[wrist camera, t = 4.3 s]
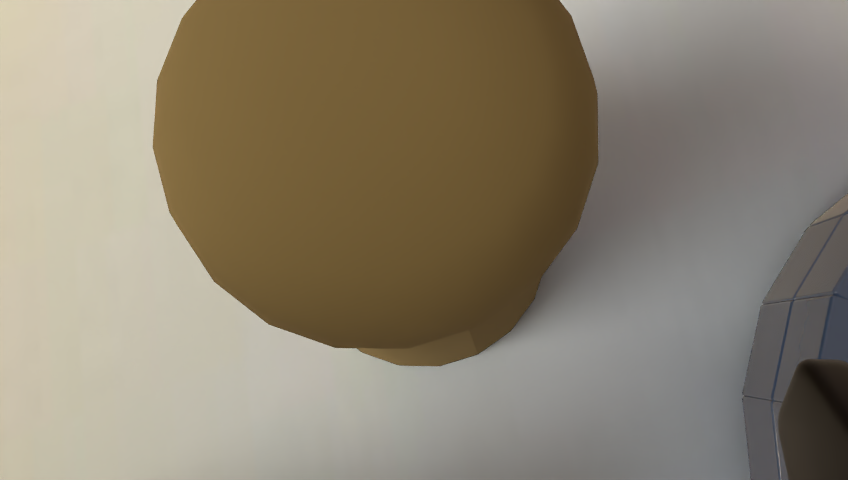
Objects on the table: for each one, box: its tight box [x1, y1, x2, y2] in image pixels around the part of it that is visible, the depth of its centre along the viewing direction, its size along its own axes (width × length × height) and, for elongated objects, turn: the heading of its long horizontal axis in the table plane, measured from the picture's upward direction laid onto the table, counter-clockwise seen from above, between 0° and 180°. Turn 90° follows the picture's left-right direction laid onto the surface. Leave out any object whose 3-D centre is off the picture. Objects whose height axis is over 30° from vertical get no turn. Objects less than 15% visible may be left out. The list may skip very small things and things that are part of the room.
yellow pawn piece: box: [153, 0, 598, 366], centre depth 13 cm, size 6×6×11 cm
